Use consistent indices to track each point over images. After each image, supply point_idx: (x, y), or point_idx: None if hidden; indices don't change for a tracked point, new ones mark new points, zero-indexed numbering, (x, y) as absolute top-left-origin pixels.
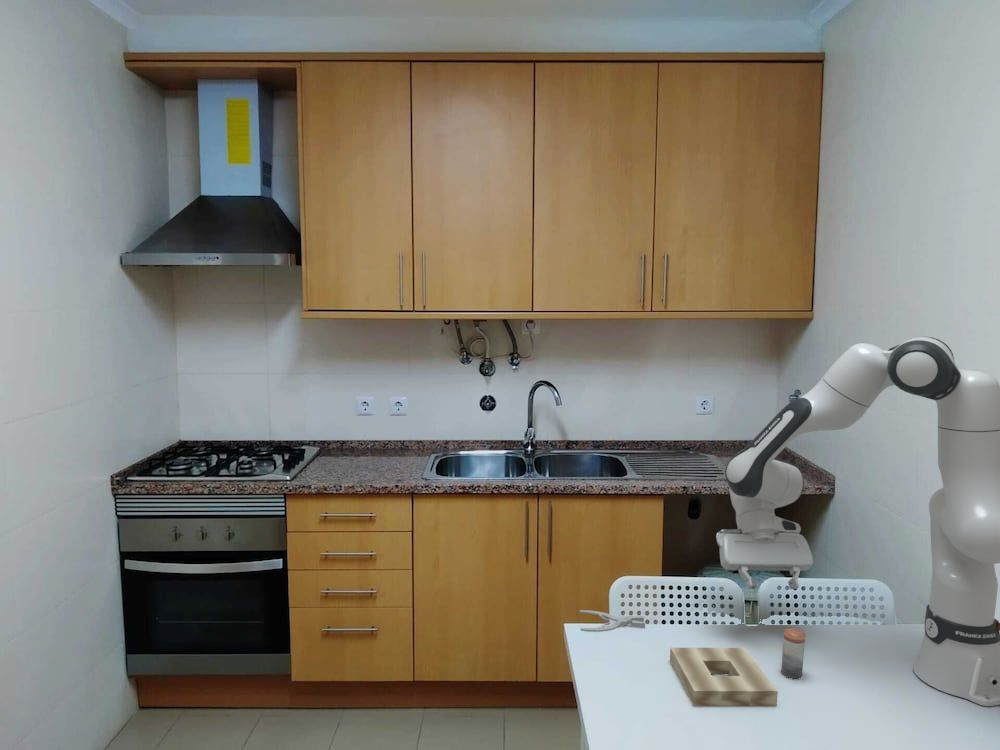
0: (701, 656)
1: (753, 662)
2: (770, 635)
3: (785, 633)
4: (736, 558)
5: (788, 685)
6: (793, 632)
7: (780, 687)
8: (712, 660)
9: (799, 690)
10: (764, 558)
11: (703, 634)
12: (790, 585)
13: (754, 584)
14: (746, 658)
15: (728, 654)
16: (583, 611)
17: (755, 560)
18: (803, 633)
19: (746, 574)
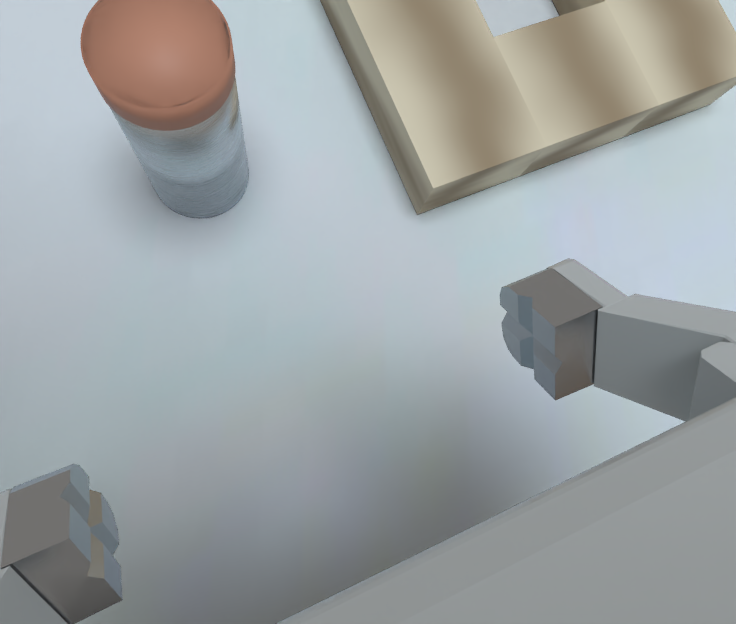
0: (616, 36)
1: (386, 56)
2: (286, 569)
3: (223, 17)
4: None
5: None
6: (166, 44)
7: (258, 47)
8: (566, 16)
9: None
10: (573, 610)
11: (625, 416)
12: (98, 519)
13: (532, 278)
14: (420, 83)
15: (504, 92)
16: None
17: (716, 475)
18: (94, 52)
19: (682, 314)
